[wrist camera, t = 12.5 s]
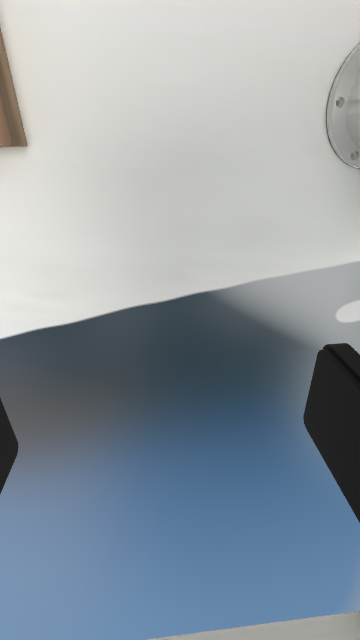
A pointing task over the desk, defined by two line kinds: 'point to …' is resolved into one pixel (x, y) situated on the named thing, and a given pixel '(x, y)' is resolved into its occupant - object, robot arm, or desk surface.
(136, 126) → the desk surface
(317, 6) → the desk surface
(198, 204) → the desk surface
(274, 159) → the desk surface
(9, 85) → the walnut base
